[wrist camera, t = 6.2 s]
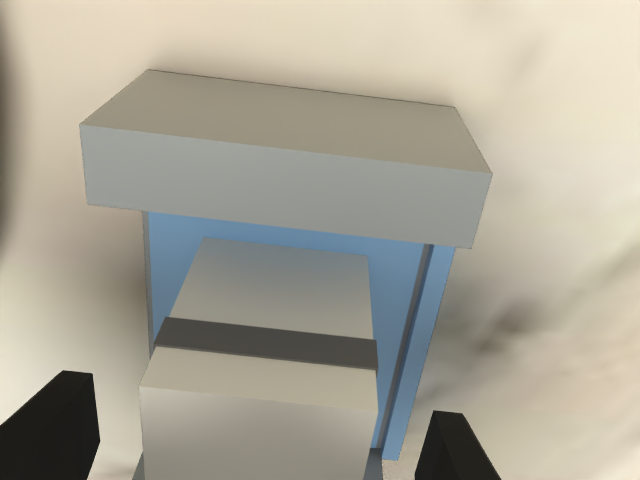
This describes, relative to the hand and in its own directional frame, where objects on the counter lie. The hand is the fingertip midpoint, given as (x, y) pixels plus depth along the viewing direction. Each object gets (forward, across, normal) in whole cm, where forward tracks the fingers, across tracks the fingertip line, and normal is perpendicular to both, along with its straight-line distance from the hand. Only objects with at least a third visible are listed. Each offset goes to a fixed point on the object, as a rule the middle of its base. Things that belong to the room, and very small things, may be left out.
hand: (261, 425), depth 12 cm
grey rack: (+4, 0, +5) cm, 7 cm away
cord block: (+3, 0, 0) cm, 3 cm away
